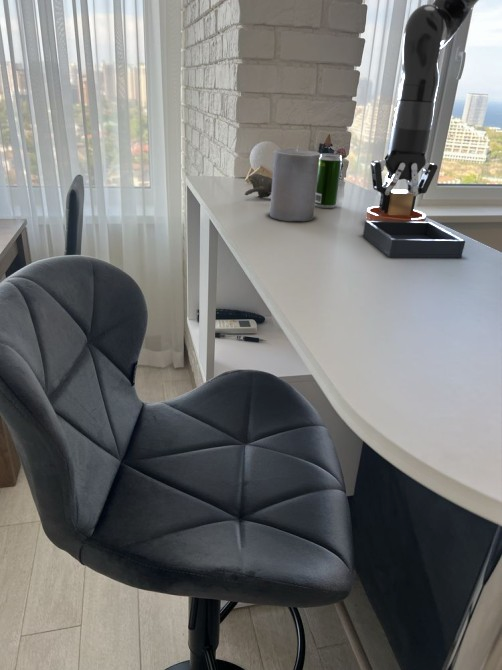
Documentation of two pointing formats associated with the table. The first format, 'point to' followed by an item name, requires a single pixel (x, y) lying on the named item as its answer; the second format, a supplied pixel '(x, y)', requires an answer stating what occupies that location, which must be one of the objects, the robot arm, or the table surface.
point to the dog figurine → (260, 185)
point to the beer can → (328, 180)
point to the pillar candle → (294, 184)
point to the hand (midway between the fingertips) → (395, 212)
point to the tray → (413, 239)
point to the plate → (393, 216)
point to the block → (400, 202)
